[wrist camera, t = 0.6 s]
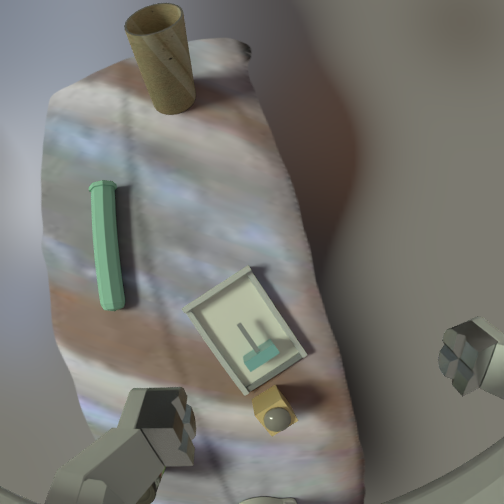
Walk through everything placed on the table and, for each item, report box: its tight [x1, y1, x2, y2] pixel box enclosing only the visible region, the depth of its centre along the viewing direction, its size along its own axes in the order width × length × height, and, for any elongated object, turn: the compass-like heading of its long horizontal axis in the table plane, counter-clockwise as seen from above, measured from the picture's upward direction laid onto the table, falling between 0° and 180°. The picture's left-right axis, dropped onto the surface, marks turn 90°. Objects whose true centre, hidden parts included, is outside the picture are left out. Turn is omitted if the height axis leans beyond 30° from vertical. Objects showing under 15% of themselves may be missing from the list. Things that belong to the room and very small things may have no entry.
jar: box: [252, 385, 298, 436], centre depth 48 cm, size 6×6×9 cm
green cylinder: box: [89, 180, 125, 311], centre depth 52 cm, size 6×6×25 cm
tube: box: [124, 3, 196, 115], centre depth 47 cm, size 10×10×25 cm
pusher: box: [237, 322, 280, 372], centre depth 50 cm, size 8×6×5 cm
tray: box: [182, 265, 307, 395], centre depth 52 cm, size 20×14×4 cm
